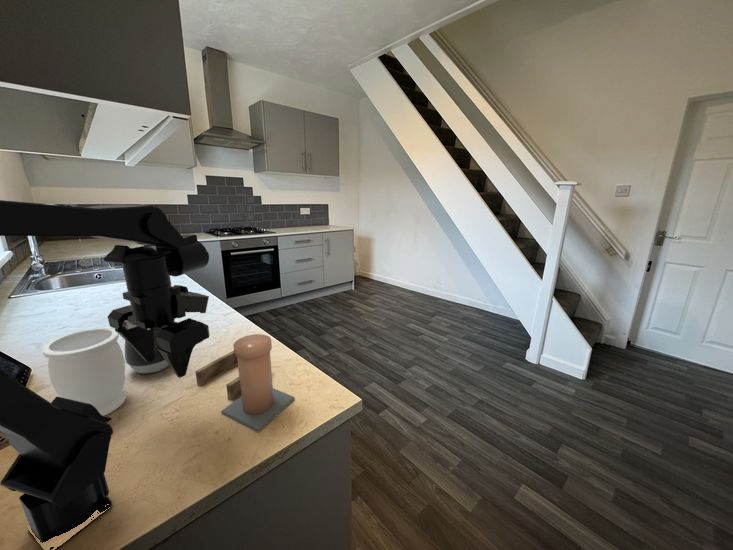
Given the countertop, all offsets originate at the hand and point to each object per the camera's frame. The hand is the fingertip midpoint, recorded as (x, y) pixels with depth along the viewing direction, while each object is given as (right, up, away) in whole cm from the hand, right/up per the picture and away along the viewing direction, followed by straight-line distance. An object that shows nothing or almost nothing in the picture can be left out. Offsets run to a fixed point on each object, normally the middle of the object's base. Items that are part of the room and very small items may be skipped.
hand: (165, 368), depth 51 cm
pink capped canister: (+13, -10, +8) cm, 19 cm away
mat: (+13, -11, +9) cm, 19 cm away
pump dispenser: (-17, -7, +21) cm, 28 cm away
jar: (-18, -10, +7) cm, 22 cm away
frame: (+4, -8, +17) cm, 19 cm away
